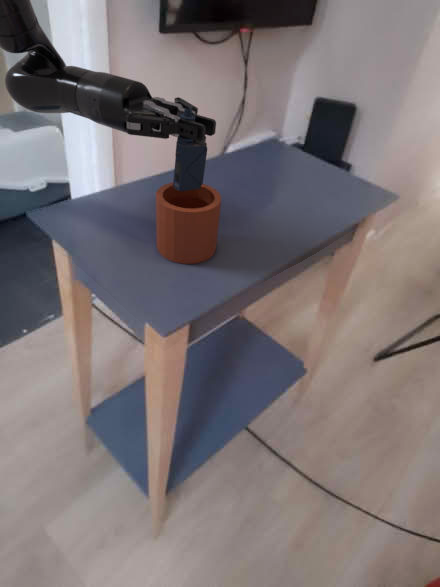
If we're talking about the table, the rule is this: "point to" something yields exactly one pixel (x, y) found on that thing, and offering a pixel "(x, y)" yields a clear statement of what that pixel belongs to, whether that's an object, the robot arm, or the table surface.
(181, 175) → the vaping device
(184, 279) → the table surface
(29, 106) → the robot arm
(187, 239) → the terracotta planter pot
